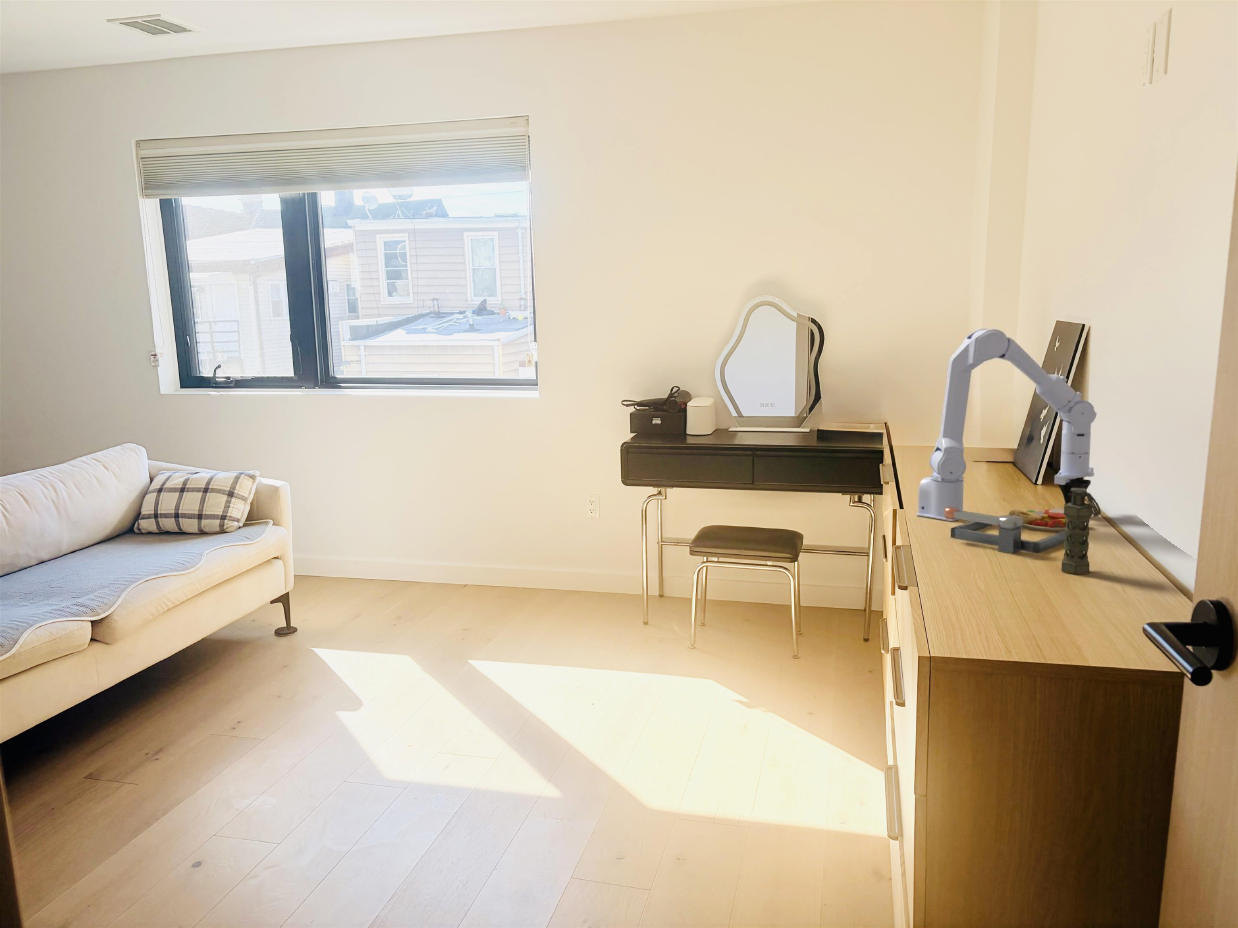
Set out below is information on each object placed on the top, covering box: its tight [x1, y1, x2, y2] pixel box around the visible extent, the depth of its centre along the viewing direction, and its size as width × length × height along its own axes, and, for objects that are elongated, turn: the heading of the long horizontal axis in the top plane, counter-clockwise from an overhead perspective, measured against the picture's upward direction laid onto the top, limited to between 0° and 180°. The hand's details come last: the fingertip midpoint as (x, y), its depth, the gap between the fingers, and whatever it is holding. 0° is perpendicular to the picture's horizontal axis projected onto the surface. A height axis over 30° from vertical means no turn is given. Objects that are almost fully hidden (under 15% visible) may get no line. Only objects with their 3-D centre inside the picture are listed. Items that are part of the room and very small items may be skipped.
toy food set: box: [1008, 508, 1070, 533], centre depth 188 cm, size 13×13×3 cm
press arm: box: [945, 507, 1024, 530], centre depth 173 cm, size 16×4×2 cm, turn 38°
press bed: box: [950, 521, 1069, 555], centre depth 177 cm, size 18×18×5 cm
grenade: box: [1061, 488, 1102, 575], centre depth 154 cm, size 9×6×15 cm, turn 153°
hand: (1072, 511), depth 196 cm, fingers closed
